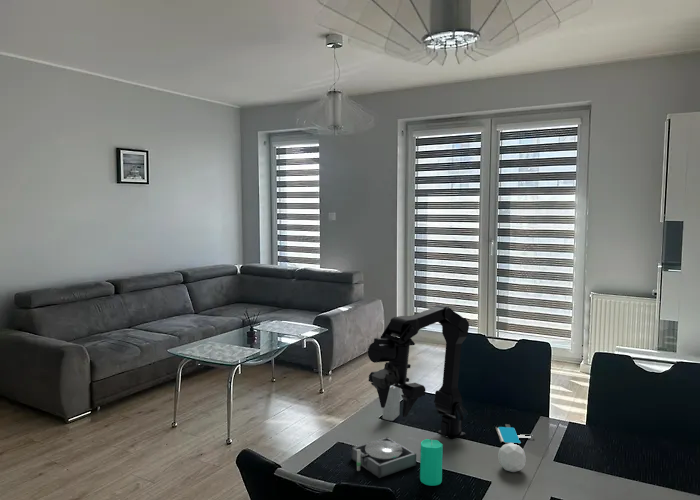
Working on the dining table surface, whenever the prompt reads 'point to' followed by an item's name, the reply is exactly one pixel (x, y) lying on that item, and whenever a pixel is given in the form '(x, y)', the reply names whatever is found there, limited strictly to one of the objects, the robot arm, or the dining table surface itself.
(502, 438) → the phone stand
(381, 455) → the scale pan
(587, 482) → the dining table surface
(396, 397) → the skincare box
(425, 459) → the candle
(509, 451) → the geometric ball
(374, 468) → the scale housing
